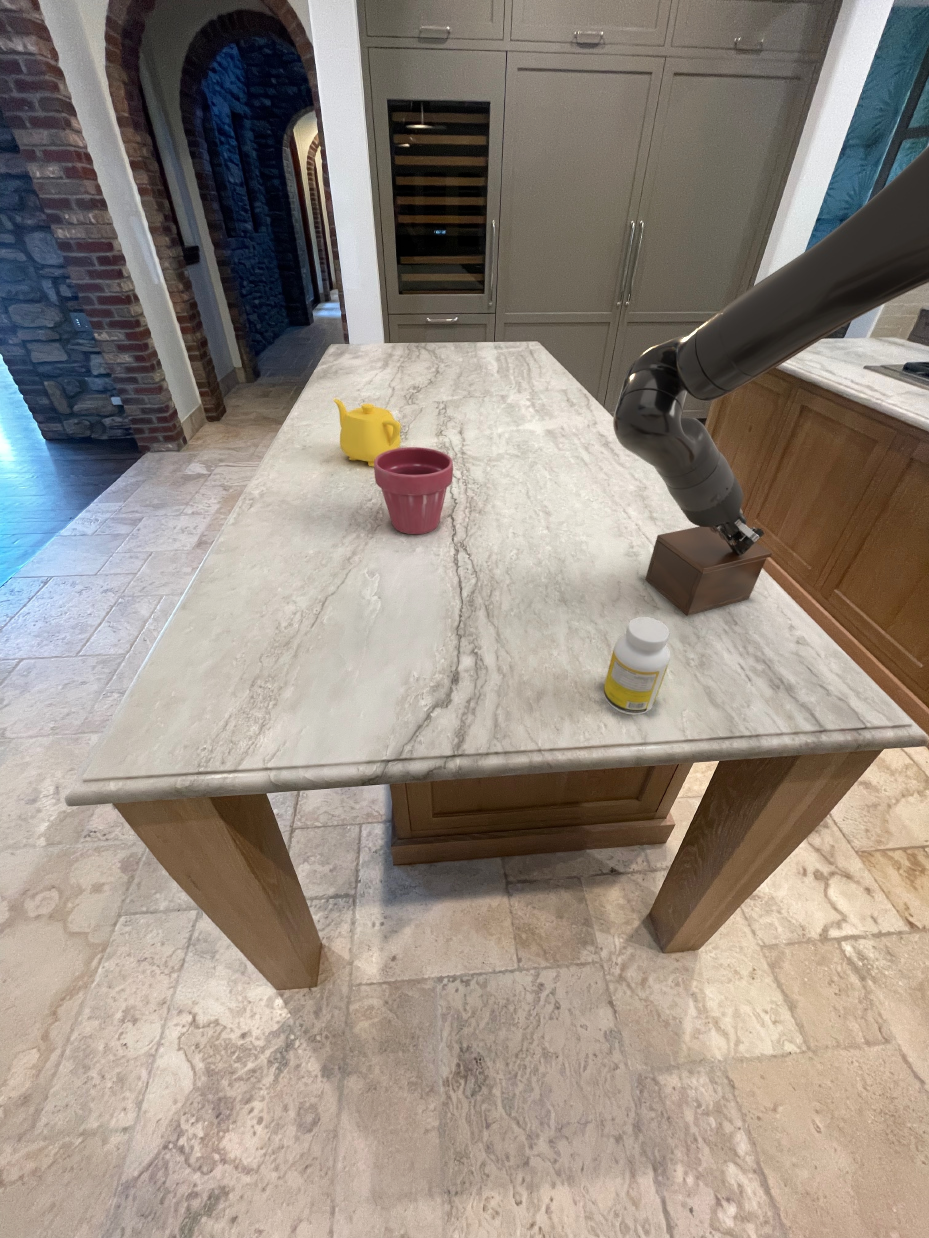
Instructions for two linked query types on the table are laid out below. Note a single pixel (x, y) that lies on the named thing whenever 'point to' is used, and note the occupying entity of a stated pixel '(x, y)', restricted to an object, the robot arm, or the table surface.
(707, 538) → the lid
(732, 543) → the robot arm
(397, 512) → the flower pot
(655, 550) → the box
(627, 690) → the pill bottle
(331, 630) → the table surface
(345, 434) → the teapot
